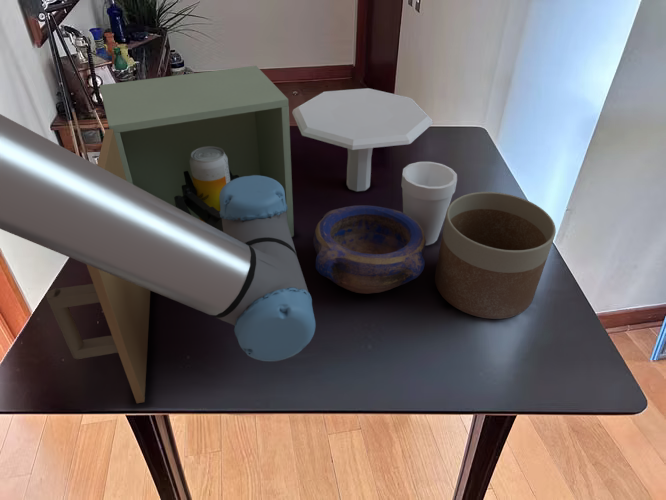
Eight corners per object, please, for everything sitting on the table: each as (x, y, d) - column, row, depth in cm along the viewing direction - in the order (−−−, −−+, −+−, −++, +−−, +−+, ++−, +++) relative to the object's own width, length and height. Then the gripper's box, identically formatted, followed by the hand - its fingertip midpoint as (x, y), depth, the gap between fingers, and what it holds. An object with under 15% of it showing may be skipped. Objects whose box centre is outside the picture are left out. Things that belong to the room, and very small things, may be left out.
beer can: (203, 220, 94) (190, 145, 85) (236, 218, 95) (227, 144, 86) (200, 240, 90) (186, 163, 81) (235, 238, 90) (225, 161, 81)
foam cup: (399, 250, 93) (406, 188, 85) (392, 221, 100) (398, 161, 92) (451, 250, 93) (463, 188, 85) (440, 221, 101) (451, 161, 93)
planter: (532, 332, 77) (558, 261, 69) (427, 309, 81) (439, 239, 73) (532, 268, 89) (554, 200, 81) (440, 250, 93) (452, 184, 85)
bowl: (416, 245, 94) (422, 199, 88) (423, 315, 80) (431, 265, 74) (318, 240, 95) (318, 194, 89) (308, 308, 81) (307, 259, 75)
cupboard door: (88, 412, 65) (13, 249, 49) (108, 279, 85) (59, 133, 70) (144, 402, 67) (88, 240, 51) (151, 273, 87) (113, 128, 71)
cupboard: (294, 236, 96) (288, 99, 80) (147, 271, 87) (108, 125, 71) (266, 192, 108) (256, 65, 92) (135, 219, 100) (99, 84, 83)
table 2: (279, 214, 102) (274, 136, 91) (307, 150, 124) (305, 81, 113) (422, 229, 98) (433, 149, 88) (424, 160, 120) (434, 90, 110)
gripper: (178, 284, 73) (154, 203, 90) (303, 253, 80) (259, 182, 96) (169, 242, 69) (145, 165, 85) (302, 212, 75) (256, 145, 92)
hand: (206, 174), depth 91 cm, fingers closed on beer can, 6 cm apart
